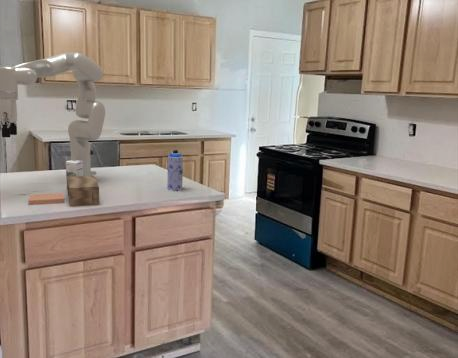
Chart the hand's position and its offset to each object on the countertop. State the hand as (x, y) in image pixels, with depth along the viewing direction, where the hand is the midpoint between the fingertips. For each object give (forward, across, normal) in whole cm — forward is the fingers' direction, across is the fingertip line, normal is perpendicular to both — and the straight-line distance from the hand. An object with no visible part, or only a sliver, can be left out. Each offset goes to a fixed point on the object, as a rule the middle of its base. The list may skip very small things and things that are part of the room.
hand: (9, 136), depth 193 cm
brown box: (+27, +4, +31) cm, 41 cm away
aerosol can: (+26, -14, +73) cm, 79 cm away
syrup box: (+27, -11, +25) cm, 39 cm away
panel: (+28, +7, +16) cm, 33 cm away
